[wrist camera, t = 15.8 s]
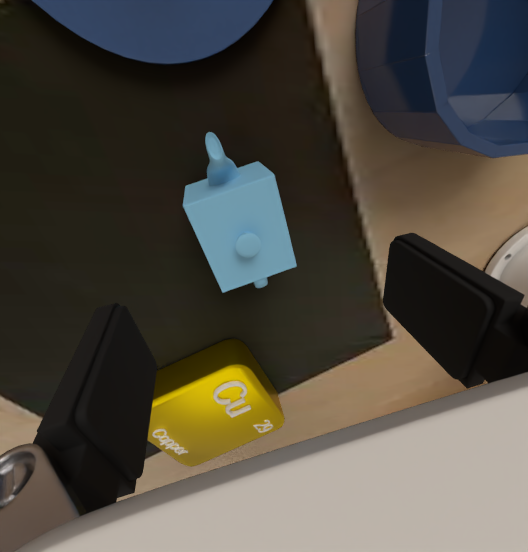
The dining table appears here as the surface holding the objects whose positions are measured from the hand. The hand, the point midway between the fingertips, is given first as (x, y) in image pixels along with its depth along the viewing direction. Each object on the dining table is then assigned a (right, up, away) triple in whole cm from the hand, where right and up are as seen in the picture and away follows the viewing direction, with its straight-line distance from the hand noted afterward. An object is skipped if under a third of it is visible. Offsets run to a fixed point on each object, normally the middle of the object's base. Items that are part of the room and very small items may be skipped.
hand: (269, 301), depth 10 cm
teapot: (-3, +8, +14) cm, 16 cm away
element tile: (-7, -14, +26) cm, 31 cm away
